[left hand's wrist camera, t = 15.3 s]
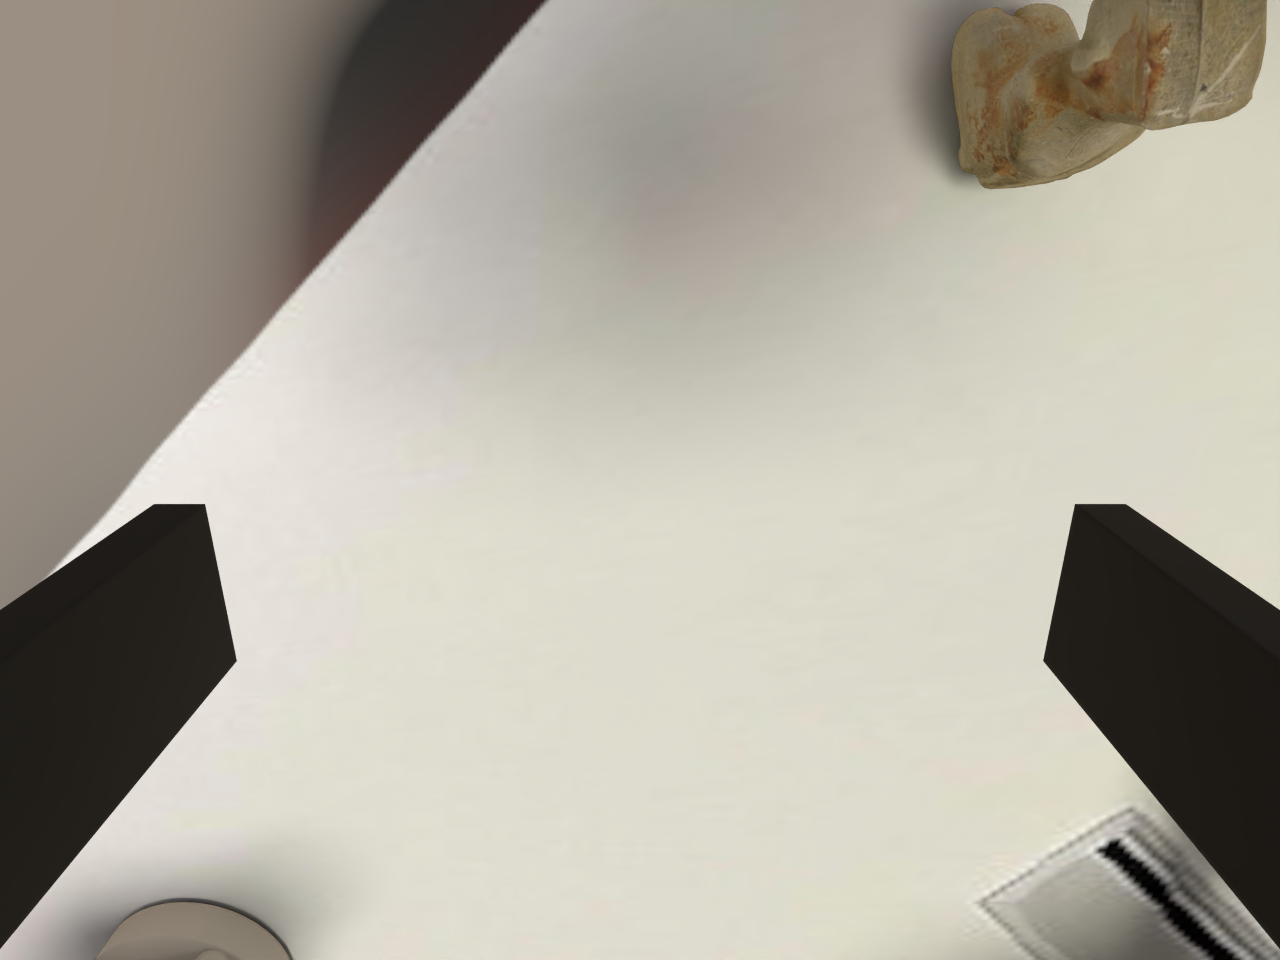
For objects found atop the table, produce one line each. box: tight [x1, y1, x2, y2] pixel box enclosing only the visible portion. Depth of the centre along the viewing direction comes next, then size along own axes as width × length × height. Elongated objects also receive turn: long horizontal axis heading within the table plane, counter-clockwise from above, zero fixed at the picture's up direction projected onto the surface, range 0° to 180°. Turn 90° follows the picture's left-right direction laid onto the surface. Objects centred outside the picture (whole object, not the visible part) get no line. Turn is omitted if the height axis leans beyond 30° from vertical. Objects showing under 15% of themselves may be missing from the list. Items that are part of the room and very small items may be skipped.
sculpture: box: [951, 0, 1267, 189], centre depth 30 cm, size 6×7×15 cm
